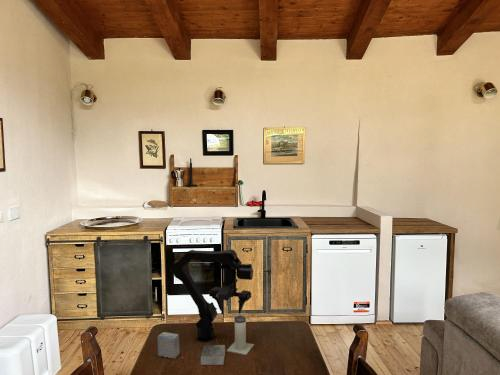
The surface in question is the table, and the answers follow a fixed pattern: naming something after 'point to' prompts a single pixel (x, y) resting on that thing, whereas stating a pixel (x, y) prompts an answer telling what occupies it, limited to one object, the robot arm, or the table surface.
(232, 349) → the mat
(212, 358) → the housing
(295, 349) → the table surface
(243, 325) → the plug
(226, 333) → the table surface
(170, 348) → the medicine box
